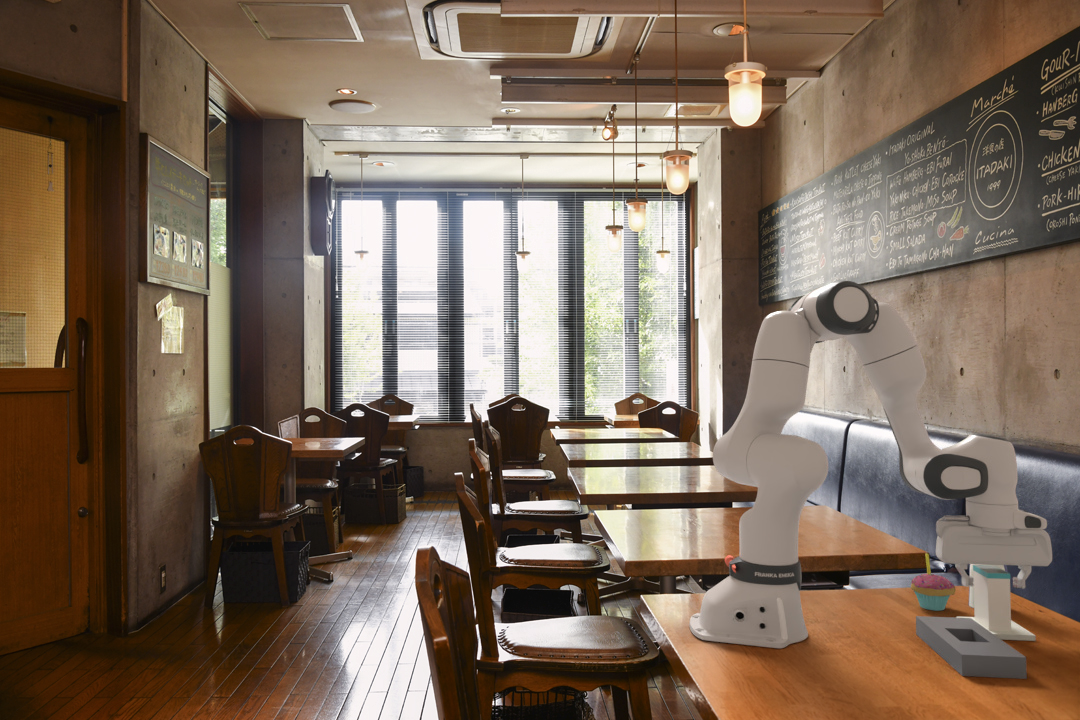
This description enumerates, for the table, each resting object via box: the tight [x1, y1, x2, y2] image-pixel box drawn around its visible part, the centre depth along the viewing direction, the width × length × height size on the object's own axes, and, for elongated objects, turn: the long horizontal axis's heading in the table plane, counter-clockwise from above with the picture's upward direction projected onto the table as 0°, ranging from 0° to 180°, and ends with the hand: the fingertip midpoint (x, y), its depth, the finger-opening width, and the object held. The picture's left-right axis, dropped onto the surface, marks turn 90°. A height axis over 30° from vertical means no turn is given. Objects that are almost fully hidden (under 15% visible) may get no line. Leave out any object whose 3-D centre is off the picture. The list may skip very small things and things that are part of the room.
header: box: [915, 615, 1028, 680], centre depth 130 cm, size 10×20×4 cm, turn 172°
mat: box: [955, 616, 1037, 642], centre depth 143 cm, size 10×10×1 cm
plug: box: [973, 565, 1012, 631], centre depth 143 cm, size 4×6×11 cm
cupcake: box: [910, 549, 956, 612], centre depth 158 cm, size 9×8×12 cm
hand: (993, 586), depth 143 cm, fingers open, 8 cm apart
